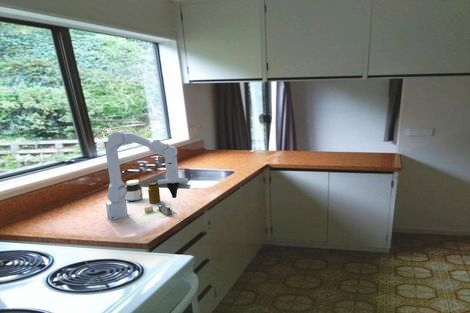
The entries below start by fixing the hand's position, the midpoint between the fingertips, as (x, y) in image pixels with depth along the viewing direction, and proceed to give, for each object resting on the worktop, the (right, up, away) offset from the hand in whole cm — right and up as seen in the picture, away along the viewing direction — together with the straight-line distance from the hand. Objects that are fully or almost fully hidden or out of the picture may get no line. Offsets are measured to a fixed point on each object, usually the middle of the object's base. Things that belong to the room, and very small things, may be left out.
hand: (174, 197), depth 159 cm
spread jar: (-30, -6, +31) cm, 44 cm away
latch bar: (-6, -8, +4) cm, 10 cm away
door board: (-11, -10, +1) cm, 15 cm away
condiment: (-14, -7, +21) cm, 26 cm away
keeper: (-14, -8, +6) cm, 17 cm away
